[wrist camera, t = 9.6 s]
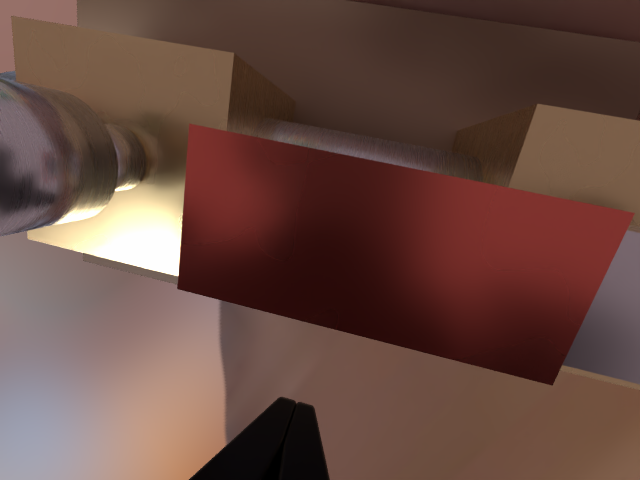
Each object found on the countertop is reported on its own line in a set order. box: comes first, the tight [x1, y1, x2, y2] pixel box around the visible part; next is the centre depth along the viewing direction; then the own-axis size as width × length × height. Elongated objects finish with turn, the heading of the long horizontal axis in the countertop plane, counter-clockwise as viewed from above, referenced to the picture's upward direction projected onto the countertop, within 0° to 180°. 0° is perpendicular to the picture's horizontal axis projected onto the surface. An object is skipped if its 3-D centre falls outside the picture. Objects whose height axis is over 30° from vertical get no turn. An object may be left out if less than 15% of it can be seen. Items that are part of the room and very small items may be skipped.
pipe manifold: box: [0, 16, 640, 390], centre depth 9 cm, size 6×23×10 cm, turn 80°
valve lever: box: [177, 124, 640, 385], centre depth 5 cm, size 9×3×2 cm, turn 79°
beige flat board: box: [77, 0, 640, 284], centre depth 14 cm, size 13×22×2 cm, turn 79°
